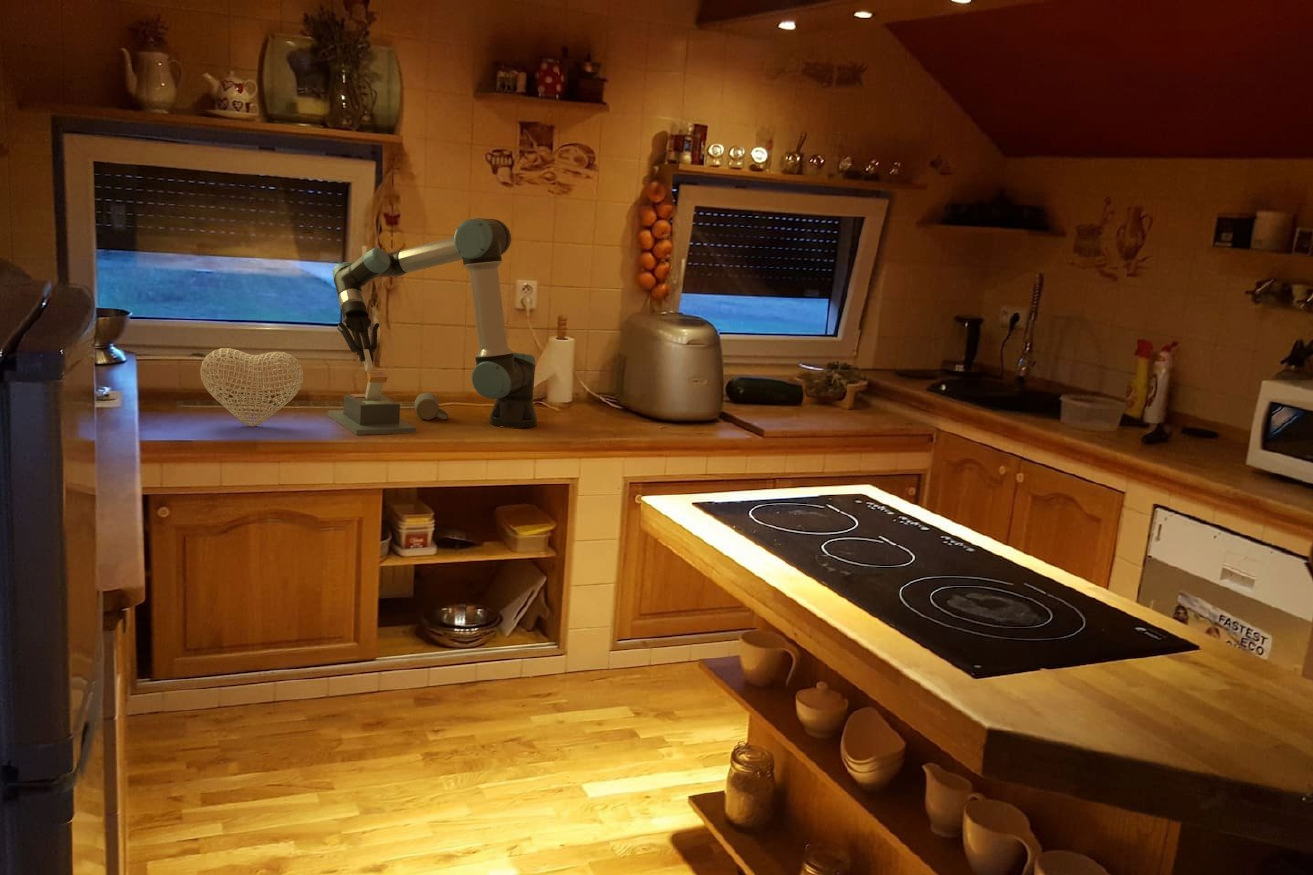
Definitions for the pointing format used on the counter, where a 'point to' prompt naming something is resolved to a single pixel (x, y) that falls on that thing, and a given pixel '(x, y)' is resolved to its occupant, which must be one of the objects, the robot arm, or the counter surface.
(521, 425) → the robot arm
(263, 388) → the heart
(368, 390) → the breaker lever
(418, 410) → the ceramic mug
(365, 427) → the breaker box
